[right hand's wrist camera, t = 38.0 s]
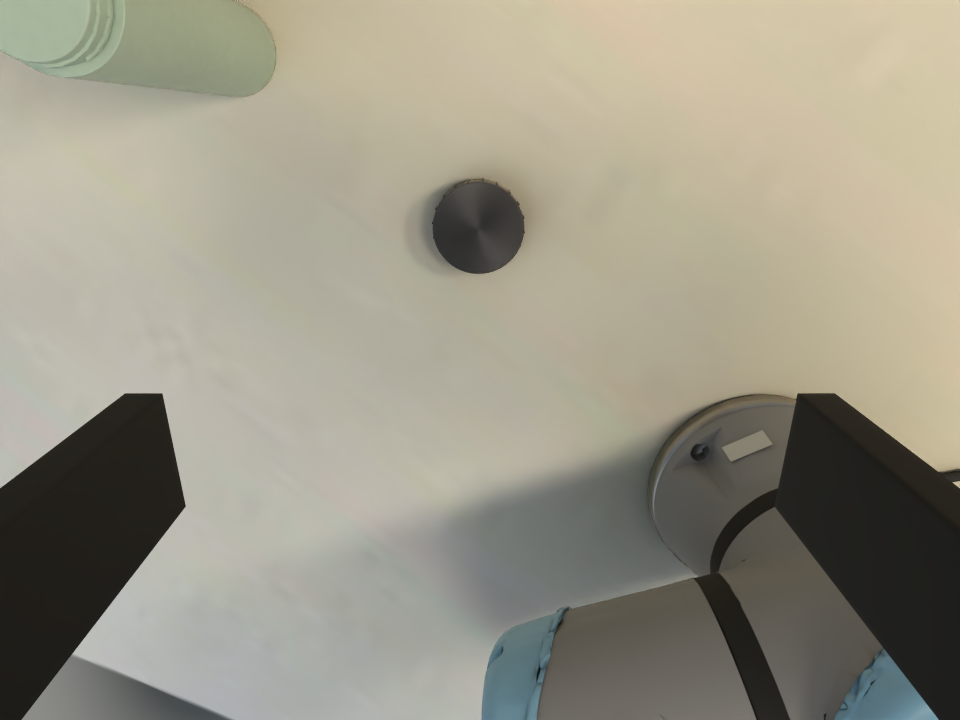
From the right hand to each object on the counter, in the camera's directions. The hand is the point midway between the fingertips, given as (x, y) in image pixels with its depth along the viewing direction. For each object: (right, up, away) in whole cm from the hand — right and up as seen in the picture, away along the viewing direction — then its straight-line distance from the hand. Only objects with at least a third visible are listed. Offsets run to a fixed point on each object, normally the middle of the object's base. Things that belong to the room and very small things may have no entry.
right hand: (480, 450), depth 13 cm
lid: (0, +10, +26) cm, 28 cm away
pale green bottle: (-15, +20, +23) cm, 34 cm away
